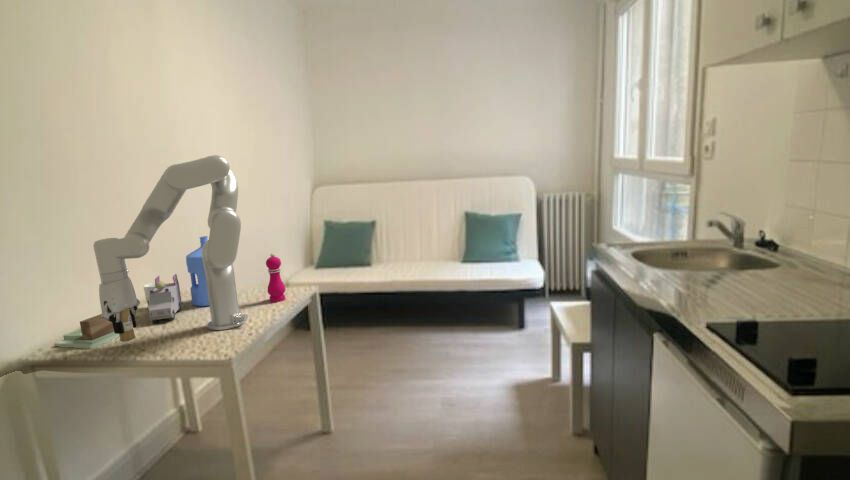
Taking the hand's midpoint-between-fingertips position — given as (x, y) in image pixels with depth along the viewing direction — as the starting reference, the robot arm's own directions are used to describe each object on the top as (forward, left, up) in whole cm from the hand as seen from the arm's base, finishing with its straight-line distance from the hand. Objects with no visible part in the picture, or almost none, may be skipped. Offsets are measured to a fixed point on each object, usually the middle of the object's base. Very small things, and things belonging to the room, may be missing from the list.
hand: (125, 329), depth 164 cm
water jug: (+6, -49, -6) cm, 50 cm away
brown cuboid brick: (+15, -3, -4) cm, 16 cm away
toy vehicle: (+11, -29, -6) cm, 32 cm away
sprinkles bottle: (0, 0, -4) cm, 4 cm away
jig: (+18, -3, -5) cm, 19 cm away
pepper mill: (-23, -53, -6) cm, 58 cm away
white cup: (+25, -39, -6) cm, 47 cm away
